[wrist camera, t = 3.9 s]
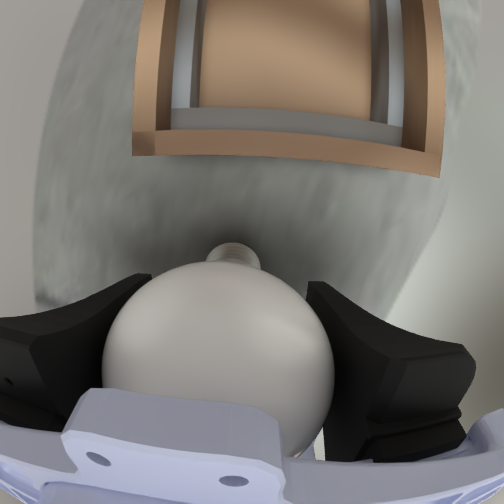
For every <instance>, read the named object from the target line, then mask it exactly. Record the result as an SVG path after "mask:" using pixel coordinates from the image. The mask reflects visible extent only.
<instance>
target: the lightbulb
mask: <svg viewBox="0 0 504 504" xmlns="http://www.w3.org/2000/svg"><path fill="white" fill-rule="evenodd" d="M101 377H102V387H103V388H115V389H121V390H126V391H132V392H138V393H144V394H151V395H158V396H166V397H174V398H182V399H192V400H203V401H217V402H231V403H236V404H241V405H246V406H251V407H256V408H259V409H261V410H262V411H264V412H265V413H267V414H268V415H270V416H272V417H273V418H275V419H276V420H278V422H279V425H280V429H281V432H282V436H283V448H284V456H286V457H294V458H298V457H299V456H300V455H301V454H302V453H303V452H304V451H305V450H306V449H307V448H308V447H309V446H310V445H311V444H312V442H313V441H314V440H315V438H316V437H317V435H318V434H319V432H320V430H321V429H322V427H323V425H324V423H325V421H326V419H327V416H328V414H329V411H330V408H331V404H332V400H333V395H334V387H335V365H334V357H333V352H332V348H331V344H330V341H329V338H328V336H327V333H326V331H325V329H324V327H323V325H322V323H321V321H320V319H319V318H318V316H317V315H316V313H315V312H314V310H313V309H312V308H311V306H310V305H309V304H308V303H307V302H306V300H305V299H304V298H303V297H302V296H301V295H300V294H299V293H298V292H296V291H295V290H294V289H293V288H292V287H290V286H289V285H288V284H286V283H285V282H284V281H282V280H280V279H279V278H277V277H275V276H274V275H272V274H270V273H268V272H266V271H263V270H261V266H260V262H259V259H258V257H257V255H256V254H255V253H254V252H253V251H252V250H251V249H250V248H249V247H247V246H245V245H243V244H240V243H224V244H221V245H219V246H217V247H215V248H214V249H213V250H212V251H211V252H210V253H209V255H208V256H207V258H206V261H203V262H196V263H191V264H186V265H183V266H179V267H176V268H174V269H171V270H169V271H166V272H164V273H162V274H160V275H158V276H157V277H155V278H153V279H152V280H150V281H149V282H147V283H146V284H145V285H143V286H142V287H141V288H140V289H139V290H137V291H136V292H135V293H134V294H133V295H132V296H131V297H130V298H129V300H128V301H127V302H126V303H125V304H124V306H123V307H122V308H121V310H120V311H119V313H118V314H117V316H116V318H115V319H114V321H113V323H112V325H111V327H110V330H109V332H108V335H107V338H106V341H105V345H104V349H103V355H102V365H101Z"/></svg>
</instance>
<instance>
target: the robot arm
mask: <svg viewBox="0 0 504 504" xmlns="http://www.w3.org/2000/svg"><path fill="white" fill-rule="evenodd" d="M150 280H152V275H151V274H139V273H137V274H134V275H132V276H129V277H127V278H125V279H123V280H121V281H119V282H117V283H115V284H113V285H111V286H110V287H108V288H106V289H104V290H102V291H100V292H97V293H95V294H93V295H91V296H89V297H87V298H85V299H82V300H80V301H77V302H75V303H72V304H69V305H66V306H63V307H60V308H56V309H53V310H49V311H45V312H41V313H36V314H31V315H25V316H17V317H4V318H3V317H2V318H0V488H2V489H3V490H4V491H6V492H8V493H9V494H11V495H12V496H14V497H15V498H17V499H18V500H20V501H22V502H23V503H25V504H479V503H481V502H483V501H485V500H486V499H488V498H490V497H491V496H493V495H494V494H495V493H496V492H497V491H499V490H500V489H501V488H502V487H503V486H504V408H501V409H499V410H496V411H494V412H491V413H489V414H486V415H484V416H482V417H480V418H479V419H478V420H477V421H476V422H475V423H474V424H473V425H472V427H471V428H470V430H469V432H468V433H467V434H466V433H465V431H464V429H463V427H462V426H461V424H460V422H459V420H458V419H459V418H460V417H461V411H460V409H459V408H458V405H459V403H460V402H461V400H462V398H463V397H464V395H465V393H466V392H467V390H468V388H469V387H470V385H471V383H472V381H473V378H474V375H475V371H476V363H475V360H474V359H473V358H472V356H471V355H470V354H469V352H468V351H467V350H466V348H465V347H464V346H463V345H462V344H458V343H451V342H446V341H440V340H435V339H432V338H427V337H424V336H420V335H417V334H414V333H411V332H408V331H406V330H403V329H401V328H398V327H395V326H393V325H391V324H389V323H387V322H385V321H383V320H381V319H379V318H377V317H375V316H374V315H372V314H370V313H369V312H367V311H365V310H364V309H362V308H361V307H359V306H358V305H356V304H355V303H353V302H352V301H350V300H349V299H348V298H346V297H345V296H343V295H342V294H341V293H339V292H338V291H337V290H335V289H334V288H333V287H331V286H330V285H328V284H327V283H325V282H320V281H309V282H308V289H307V296H306V302H307V303H308V304H309V305H310V306H311V308H312V309H313V310H314V312H315V313H316V315H317V316H318V318H319V319H320V321H321V323H322V325H323V327H324V329H325V331H326V333H327V336H328V338H329V341H330V344H331V348H332V352H333V357H334V365H335V387H334V395H333V400H332V404H331V408H330V411H329V414H328V416H327V419H326V421H325V423H324V425H323V435H324V447H325V461H321V460H316V459H315V453H314V447H313V444H314V442H315V440H314V441H313V442H312V444H311V445H310V446H309V447H308V448H307V449H306V450H305V451H304V452H303V453H302V454H301V455H300V456H299V457H298V458H294V457H286V456H284V448H283V436H282V432H281V429H280V425H279V422H278V420H276V419H275V418H273V417H272V416H270V415H268V414H267V413H265V412H264V411H262V410H261V409H259V408H256V407H251V406H246V405H241V404H236V403H231V402H217V401H203V400H192V399H182V398H174V397H166V396H158V395H151V394H144V393H138V392H132V391H126V390H121V389H115V388H103V387H102V377H101V365H102V355H103V349H104V345H105V341H106V338H107V335H108V332H109V330H110V327H111V325H112V323H113V321H114V319H115V318H116V316H117V314H118V313H119V311H120V310H121V308H122V307H123V306H124V304H125V303H126V302H127V301H128V300H129V298H130V297H131V296H132V295H133V294H134V293H135V292H136V291H137V290H139V289H140V288H141V287H142V286H143V285H145V284H146V283H147V282H149V281H150ZM315 439H316V438H315Z"/></svg>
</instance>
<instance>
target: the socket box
mask: <svg viewBox="0 0 504 504" xmlns="http://www.w3.org/2000/svg"><path fill="white" fill-rule="evenodd" d="M444 121H445V61H444V45H443V33H442V24H441V15H440V8H439V1H438V0H144V2H143V8H142V15H141V22H140V29H139V37H138V46H137V56H136V67H135V80H134V97H133V124H132V156H151V155H240V156H263V157H281V158H295V159H308V160H319V161H329V162H339V163H347V164H356V165H364V166H371V167H378V168H385V169H392V170H398V171H405V172H411V173H416V174H422V175H428V176H433V177H438V178H440V170H441V161H442V150H443V138H444Z"/></svg>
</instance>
